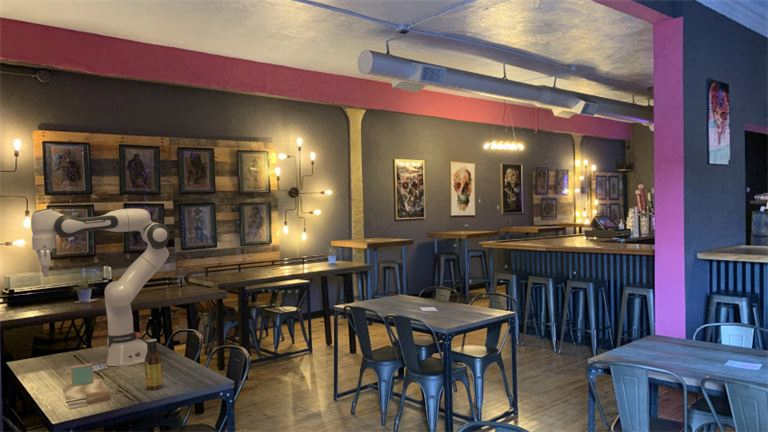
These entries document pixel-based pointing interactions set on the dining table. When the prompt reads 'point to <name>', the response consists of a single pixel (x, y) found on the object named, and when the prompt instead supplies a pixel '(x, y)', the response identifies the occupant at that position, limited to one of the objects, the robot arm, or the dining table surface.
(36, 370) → the dining table surface
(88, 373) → the tile
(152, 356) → the sauce bottle
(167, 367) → the dining table surface
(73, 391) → the board
